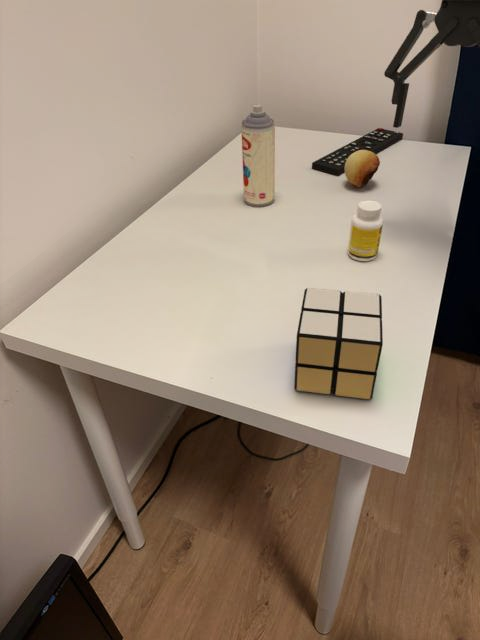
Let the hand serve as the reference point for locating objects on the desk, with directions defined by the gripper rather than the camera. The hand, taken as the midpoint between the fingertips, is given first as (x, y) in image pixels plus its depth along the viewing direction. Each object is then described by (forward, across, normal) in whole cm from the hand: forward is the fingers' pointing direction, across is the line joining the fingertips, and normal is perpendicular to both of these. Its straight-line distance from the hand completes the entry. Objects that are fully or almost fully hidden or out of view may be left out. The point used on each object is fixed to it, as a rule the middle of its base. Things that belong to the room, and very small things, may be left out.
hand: (439, 131), depth 78 cm
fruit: (+16, -18, +24) cm, 34 cm away
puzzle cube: (+28, -2, -33) cm, 43 cm away
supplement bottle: (+22, -8, -4) cm, 24 cm away
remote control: (+12, -24, +43) cm, 51 cm away
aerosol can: (+19, -35, +8) cm, 41 cm away
